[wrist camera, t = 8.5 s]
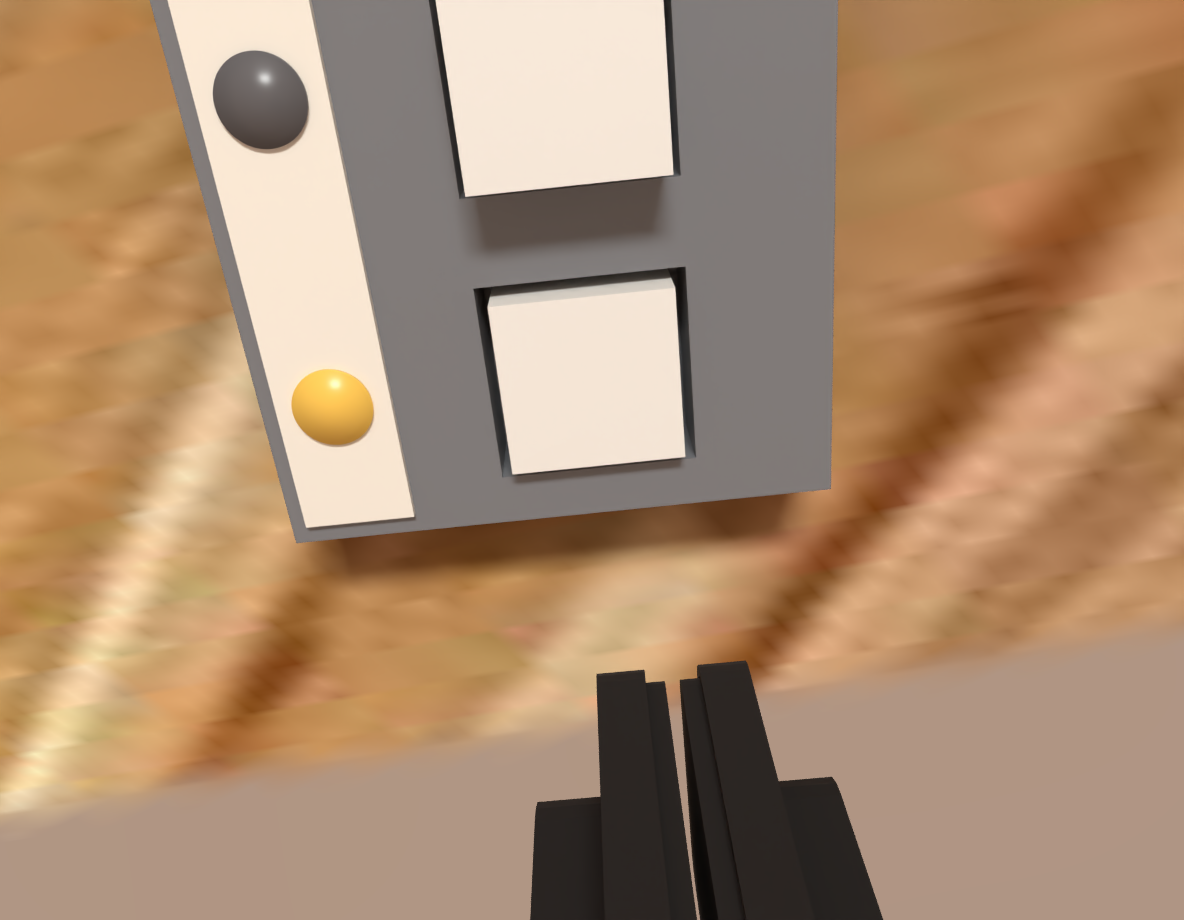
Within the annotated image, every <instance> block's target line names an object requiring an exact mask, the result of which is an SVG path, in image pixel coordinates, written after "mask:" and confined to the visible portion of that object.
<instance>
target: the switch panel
mask: <svg viewBox="0 0 1184 920" xmlns="http://www.w3.org/2000/svg"><path fill="white" fill-rule="evenodd" d="M663 2H664V19H665V37H666V54H667V71H668V89H669V106H670V123H671V141H672V158H673V175H667V176H658V177H648V178H639V179H629V180H620V181H610V182H601V183H591V184H582V185H572V186H563V187H553V188H544V189H534V190H525V191H515V192H506V193H496V194H487V195H477V196H468V197H465V191H464V184H463V178H462V171H461V165H460V158H459V152H458V145H457V138H456V132H455V125H454V119H453V112H452V105H451V99H450V92H449V86H448V79H447V73H446V66H445V59H444V53H443V46H442V40H441V33H440V26H439V20H438V13H437V7H436V0H150V3H151V7H152V10H153V14H154V18H155V22H156V25H157V29H158V33H159V36H160V40H161V44H162V47H163V51H164V55H165V59H166V62H167V66H168V70H169V73H170V77H171V81H172V84H173V88H174V92H175V96H176V99H177V103H178V107H179V110H180V114H181V118H182V121H183V125H184V129H185V133H186V136H187V140H188V144H189V147H190V151H191V155H192V158H193V162H194V166H195V170H196V173H197V177H198V181H199V184H200V188H201V192H202V196H203V199H204V203H205V207H206V210H207V214H208V218H209V221H210V225H211V229H212V233H213V236H214V240H215V244H216V247H217V251H218V255H219V258H220V262H221V266H222V270H223V273H224V277H225V281H226V284H227V288H228V292H229V295H230V299H231V303H232V307H233V310H234V314H235V318H236V321H237V325H238V329H239V332H240V336H241V340H242V344H243V347H244V351H245V355H246V358H247V362H248V366H249V369H250V373H251V377H252V381H253V384H254V388H255V392H256V395H257V399H258V403H259V407H260V410H261V414H262V418H263V421H264V425H265V429H266V432H267V436H268V440H269V444H270V447H271V451H272V455H273V458H274V462H275V466H276V469H277V473H278V477H279V481H280V484H281V488H282V492H283V495H284V499H285V503H286V506H287V510H288V514H289V518H290V521H291V525H292V529H293V532H294V536H295V540H296V543H302V542H312V541H322V540H332V539H342V538H352V537H362V536H372V535H381V534H391V533H401V532H411V531H421V530H431V529H441V528H451V527H461V526H470V525H480V524H490V523H500V522H510V521H520V520H530V519H540V518H550V517H559V516H569V515H579V514H589V513H599V512H609V511H619V510H629V509H639V508H649V507H658V506H668V505H678V504H688V503H698V502H708V501H718V500H728V499H738V498H747V497H757V496H767V495H777V494H787V493H797V492H807V491H817V490H827V489H831V441H832V372H833V303H834V234H835V165H836V96H837V28H838V0H663ZM666 268H667V269H668V271H669V274H670V276H671V279H672V281H673V284H674V286H675V292H676V309H677V326H678V342H679V359H680V376H681V393H682V409H683V426H684V443H685V457H680V458H670V459H660V460H651V461H641V462H631V463H621V464H611V465H601V466H591V467H582V468H572V469H562V470H552V471H542V472H532V473H523V474H512V467H511V461H510V454H509V447H508V441H507V434H506V427H505V421H504V414H503V407H502V401H501V394H500V387H499V380H498V374H497V367H496V360H495V354H494V347H493V340H492V334H491V327H490V320H489V314H488V303H489V299H490V294H491V289H492V287H493V286H503V285H512V284H522V283H532V282H541V281H551V280H561V279H570V278H580V277H589V276H599V275H609V274H618V273H628V272H637V271H647V270H657V269H666Z"/></svg>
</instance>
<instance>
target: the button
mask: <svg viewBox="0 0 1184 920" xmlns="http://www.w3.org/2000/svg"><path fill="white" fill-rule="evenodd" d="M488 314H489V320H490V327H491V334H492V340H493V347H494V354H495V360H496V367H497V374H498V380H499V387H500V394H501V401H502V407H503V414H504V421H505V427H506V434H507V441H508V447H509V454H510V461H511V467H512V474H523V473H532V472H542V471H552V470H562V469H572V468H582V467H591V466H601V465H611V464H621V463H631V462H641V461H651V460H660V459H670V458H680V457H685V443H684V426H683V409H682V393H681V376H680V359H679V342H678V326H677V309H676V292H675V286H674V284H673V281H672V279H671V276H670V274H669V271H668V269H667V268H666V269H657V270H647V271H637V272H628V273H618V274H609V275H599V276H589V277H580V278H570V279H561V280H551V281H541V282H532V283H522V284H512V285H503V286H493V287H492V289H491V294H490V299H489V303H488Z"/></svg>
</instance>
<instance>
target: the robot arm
mask: <svg viewBox="0 0 1184 920" xmlns="http://www.w3.org/2000/svg"><path fill="white" fill-rule="evenodd" d="M680 693H681V707H682V721H683V735H684V748H685V762H686V777H687V791H688V805H689V819H690V833H691V847H692V859H693V869H694V878H695V885H696V892H697V900H698V907H699V914H700V920H883V918H882V915H881V912H880V909H879V906H878V903H877V900H876V897H875V894H874V892H873V888H872V885H871V882H870V879H869V876H868V873H867V870H866V867H865V864H864V861H863V859H862V855H861V853H860V849H859V847H858V844H857V841H856V838H855V835H854V832H853V829H852V826H851V823H850V820H849V817H848V814H847V811H846V808H845V805H844V802H843V799H842V796H841V793H840V791H839V788H838V786H837V784H836V782H835V781H834V779H833V778H832V777H825V778H813V779H802V780H790V781H778V778H777V774H776V770H775V766H774V762H773V758H772V755H771V751H770V747H769V743H768V739H767V736H766V732H765V728H764V724H763V720H762V717H761V713H760V709H759V705H758V701H757V698H756V694H755V690H754V686H753V682H752V679H751V675H750V671H749V668H748V664H747V662H746V661H737V662H726V663H715V664H703V665H698V666H697V678H695V679H684V680H680ZM597 707H598V736H599V762H600V793H601V797H592V798H581V799H570V800H558V801H547V802H538V803H537V806H536V814H535V830H534V831H535V832H534V852H533V875H532V895H531V896H532V897H531V917H530V920H697V917H696V910H695V902H694V895H693V887H692V881H691V872H690V865H689V857H688V850H687V843H686V835H685V828H684V821H683V813H682V806H681V798H680V791H679V784H678V777H677V768H676V761H675V753H674V746H673V739H672V731H671V724H670V716H669V709H668V701H667V694H666V687H665V681H662V682H651V683H646V681H645V672H644V670H636V671H625V672H614V673H603V674H597Z"/></svg>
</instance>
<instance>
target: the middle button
mask: <svg viewBox="0 0 1184 920" xmlns="http://www.w3.org/2000/svg"><path fill="white" fill-rule="evenodd" d="M436 7H437V13H438V20H439V26H440V33H441V40H442V46H443V53H444V59H445V66H446V73H447V79H448V86H449V92H450V99H451V105H452V112H453V119H454V125H455V132H456V138H457V145H458V152H459V158H460V165H461V171H462V178H463V184H464V191H465V197H468V196H477V195H487V194H496V193H506V192H515V191H525V190H534V189H544V188H553V187H563V186H572V185H582V184H591V183H601V182H610V181H620V180H629V179H639V178H648V177H658V176H667V175H673V158H672V141H671V123H670V106H669V89H668V71H667V54H666V37H665V19H664V2H663V0H436Z"/></svg>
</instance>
